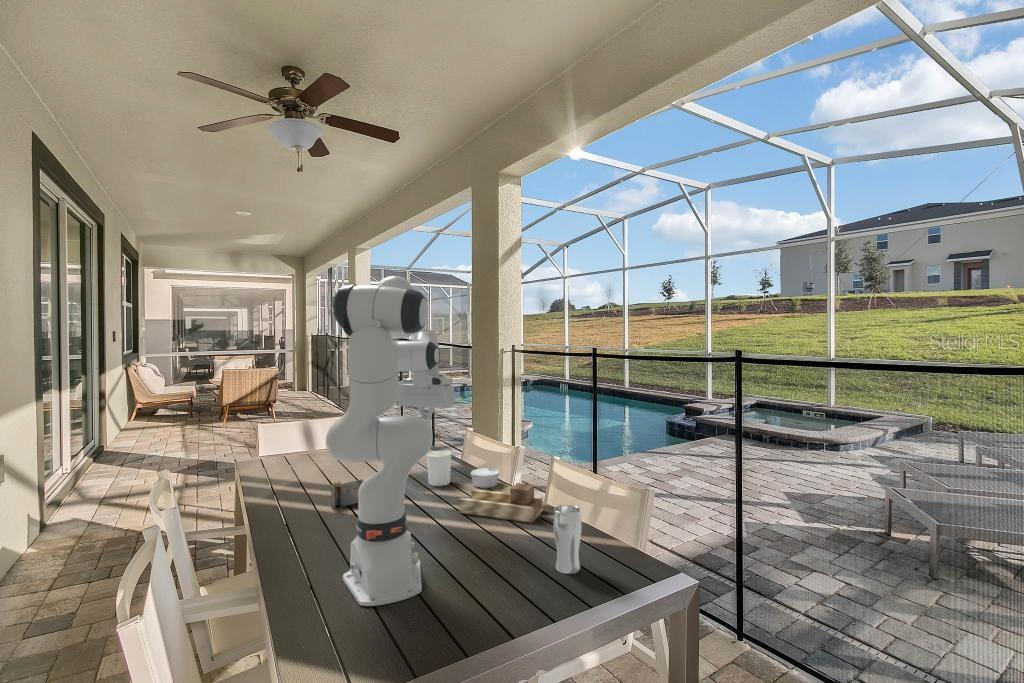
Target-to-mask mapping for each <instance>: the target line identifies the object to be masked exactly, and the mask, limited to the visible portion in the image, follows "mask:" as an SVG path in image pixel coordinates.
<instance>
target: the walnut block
mask: <svg viewBox="0 0 1024 683" xmlns="http://www.w3.org/2000/svg"><path fill="white" fill-rule="evenodd" d="M509 493H510V504H516V505H524V506H530V505H531V504H532V503H533V502H534V496H535V484H531V483H524V482H516V483H515V484H514V485H513V486H511V487H510V488H509Z"/></svg>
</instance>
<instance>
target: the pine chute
mask: <svg viewBox="0 0 1024 683" xmlns="http://www.w3.org/2000/svg"><path fill="white" fill-rule="evenodd" d="M470 494H471V495H470V497H471V498H466V497H460V498H458V513H460V514H466V515H467V514H468V515H473V516H475V515H476V516H481V517H488V518H496V519H503V520H511V521H517V522H524V523H534V522H535V520H536V519H537V518H538V517H539V516H540V514H541V513H543V511H544V497H543V496H536V495H534V502H533V503H532V504H531V505H530V506H524V505H516V504H510V492H501V491H492V490H486V489H476V488H473V489H471V491H470Z"/></svg>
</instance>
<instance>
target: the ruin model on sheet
mask: <svg viewBox="0 0 1024 683" xmlns="http://www.w3.org/2000/svg"><path fill="white" fill-rule="evenodd" d="M364 480H365V479H357V480H353V481H348V482H345V483H341V482H342V481H341V480H340V481H337V482H334V483H332V485H331V486H330V491H331V492H330V494H331V496H330V498H331V499H330V500H331V503H330V504H331V509H332V508H333V509H336V507H337V506H340V508H342V507H343V508H344V507H347V506H351V505H355V504H358V490H359V487H360V485H361V484H362V482H363V481H364Z"/></svg>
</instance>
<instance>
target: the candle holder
mask: <svg viewBox="0 0 1024 683" xmlns="http://www.w3.org/2000/svg"><path fill="white" fill-rule="evenodd" d="M426 462H427V474H428V476H427V478H428V484H429V485H430V486H431V485H432V486H431V487H443V485H444V486H447V485H449V484H450V482H451V466H452V465H451V464H452V463H451V462H452V452H451V451H448V450H432V451H428V452H427V454H426Z"/></svg>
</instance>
